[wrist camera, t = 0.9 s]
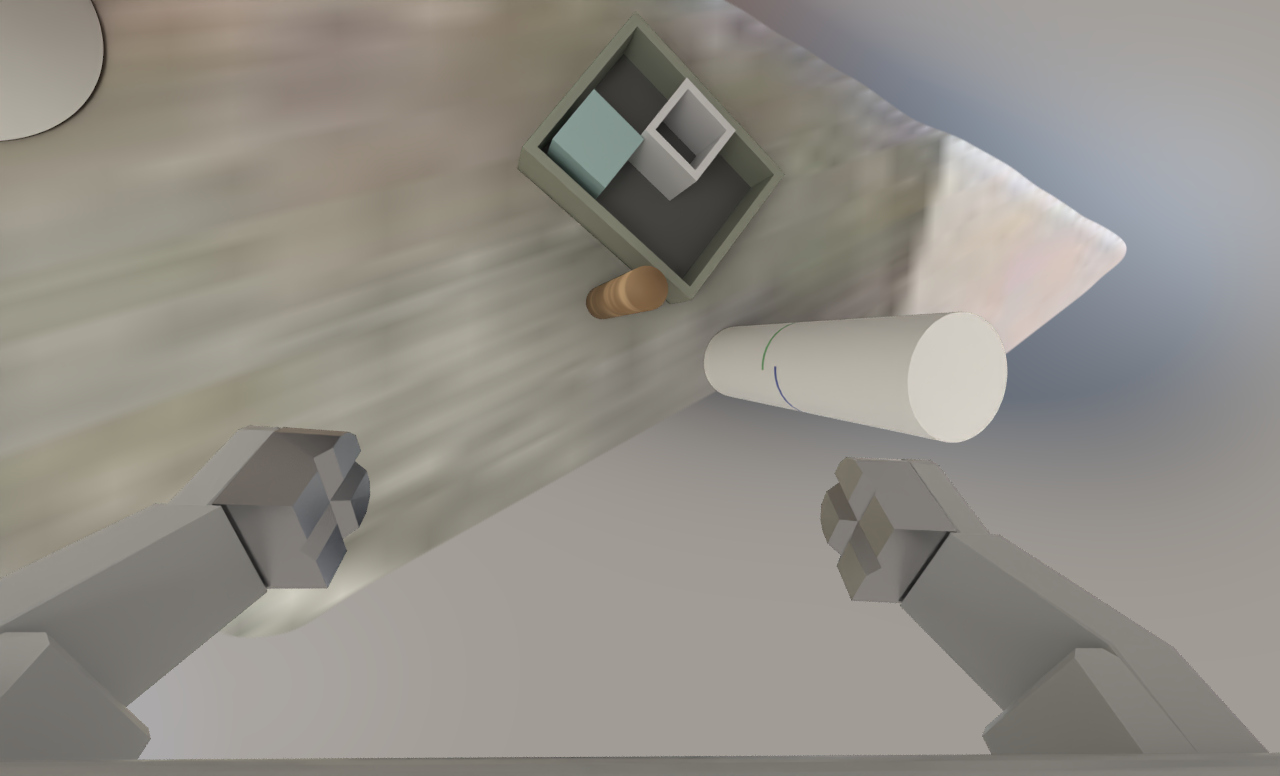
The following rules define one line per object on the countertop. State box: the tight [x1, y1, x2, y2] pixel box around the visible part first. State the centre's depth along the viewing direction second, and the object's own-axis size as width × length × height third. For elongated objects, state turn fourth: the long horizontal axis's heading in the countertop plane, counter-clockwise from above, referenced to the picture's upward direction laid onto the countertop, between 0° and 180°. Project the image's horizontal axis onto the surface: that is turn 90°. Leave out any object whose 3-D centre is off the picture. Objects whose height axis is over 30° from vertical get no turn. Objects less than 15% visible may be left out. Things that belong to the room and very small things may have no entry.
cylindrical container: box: [704, 312, 1007, 442], centre depth 39 cm, size 7×7×25 cm
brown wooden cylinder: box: [586, 266, 668, 319], centre depth 40 cm, size 3×3×13 cm
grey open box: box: [518, 11, 785, 304], centre depth 43 cm, size 18×15×7 cm
